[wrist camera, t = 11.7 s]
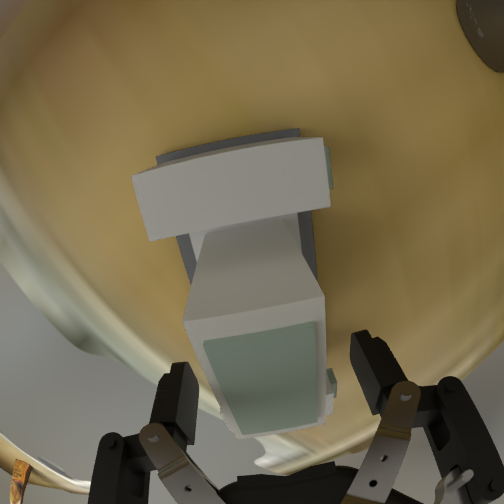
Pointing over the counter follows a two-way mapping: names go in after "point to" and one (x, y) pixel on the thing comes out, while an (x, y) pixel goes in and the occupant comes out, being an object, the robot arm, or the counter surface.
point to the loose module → (259, 329)
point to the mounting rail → (238, 195)
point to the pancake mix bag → (19, 481)
